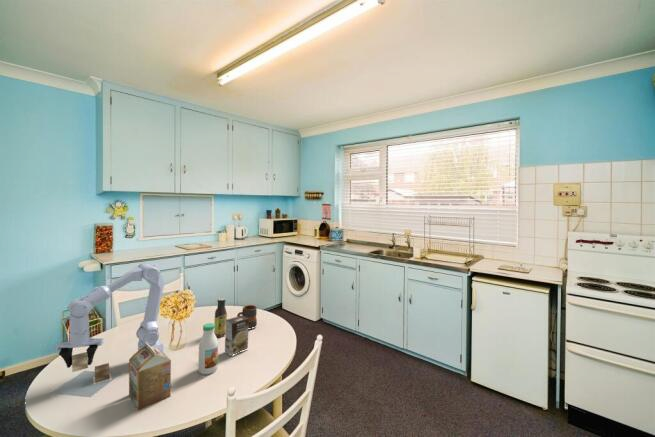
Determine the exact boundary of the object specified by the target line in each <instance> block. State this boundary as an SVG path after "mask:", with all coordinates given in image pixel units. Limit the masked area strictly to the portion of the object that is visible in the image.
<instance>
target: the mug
mask: <svg viewBox="0 0 655 437" xmlns="http://www.w3.org/2000/svg"><path fill="white" fill-rule="evenodd" d="M257 309H258V308H257V306H256V305H254V304H253V305H252V304H248V305H244V306H243V307H242V311H240V312H238V313H237V315H236V317H238V316H241V315H242V316H245V317H247V318H249V328H252V327H255V326H256V325H258V324H257V322H258V320H257V315H258V314H257V312H258V310H257ZM256 327H257V326H256ZM256 327H255V328H256Z"/></svg>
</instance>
